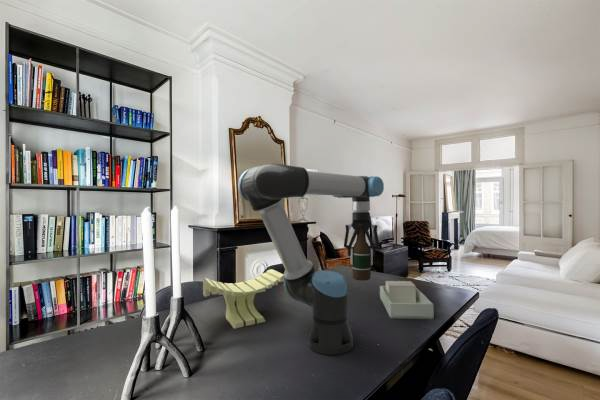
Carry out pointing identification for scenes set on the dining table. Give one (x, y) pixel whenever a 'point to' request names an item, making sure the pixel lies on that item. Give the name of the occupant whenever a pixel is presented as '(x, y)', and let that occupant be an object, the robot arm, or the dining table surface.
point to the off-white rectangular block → (401, 291)
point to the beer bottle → (361, 257)
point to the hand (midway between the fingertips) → (361, 264)
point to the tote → (408, 307)
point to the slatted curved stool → (242, 297)
